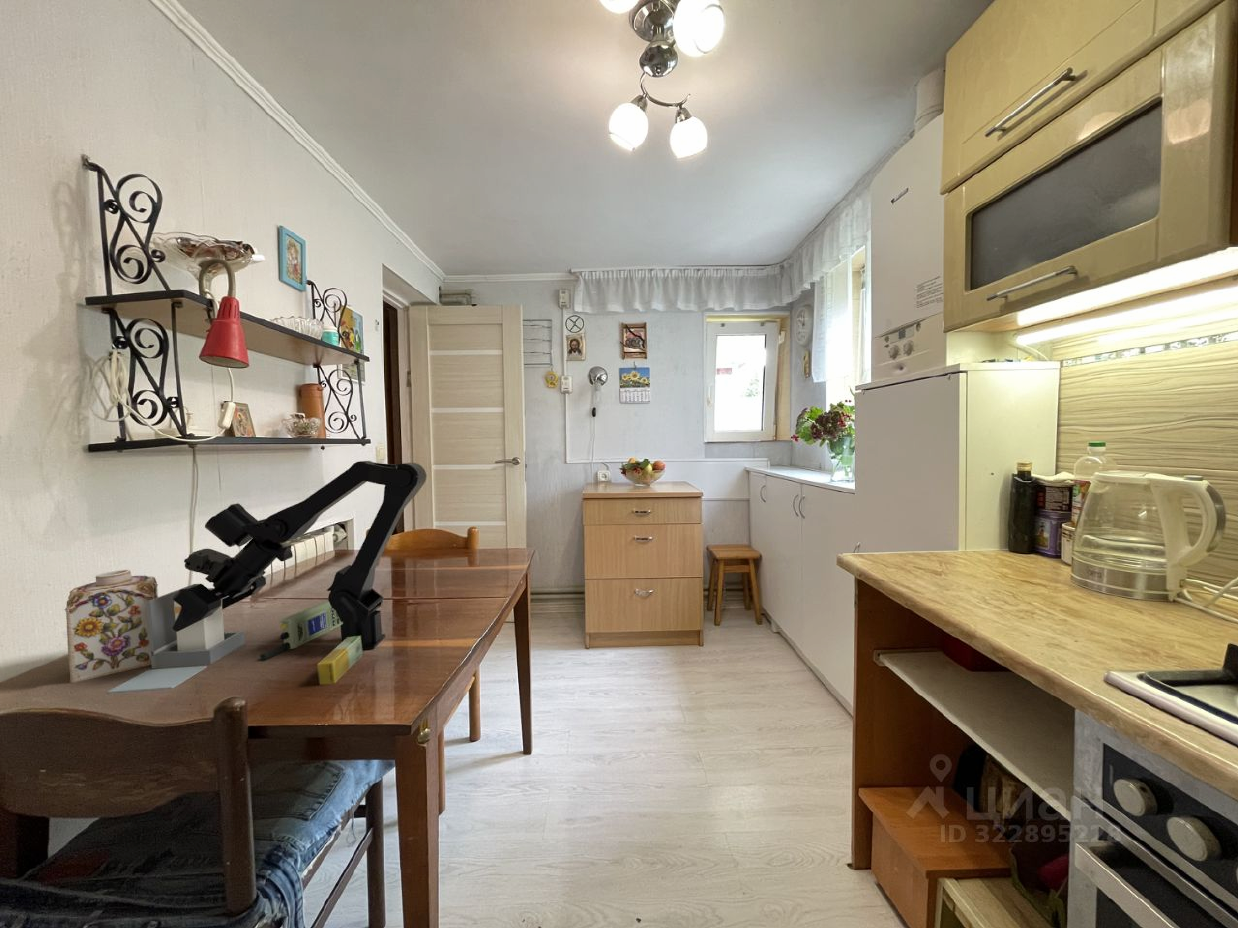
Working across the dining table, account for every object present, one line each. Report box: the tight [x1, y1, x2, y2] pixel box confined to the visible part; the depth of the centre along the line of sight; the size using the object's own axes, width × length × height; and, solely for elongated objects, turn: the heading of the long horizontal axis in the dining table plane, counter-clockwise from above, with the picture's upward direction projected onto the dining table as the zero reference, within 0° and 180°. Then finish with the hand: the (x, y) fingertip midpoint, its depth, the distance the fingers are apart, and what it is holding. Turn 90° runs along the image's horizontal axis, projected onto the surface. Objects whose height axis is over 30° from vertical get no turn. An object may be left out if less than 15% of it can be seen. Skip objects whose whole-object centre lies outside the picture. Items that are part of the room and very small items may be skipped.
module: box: [174, 587, 225, 651], centre depth 96 cm, size 5×5×12 cm
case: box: [147, 585, 246, 669], centre depth 96 cm, size 10×10×13 cm
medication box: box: [316, 635, 364, 686], centre depth 89 cm, size 12×3×4 cm, turn 6°
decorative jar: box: [64, 569, 159, 684], centre depth 93 cm, size 12×12×18 cm
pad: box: [106, 665, 208, 694], centre depth 86 cm, size 10×8×1 cm
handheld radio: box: [260, 599, 343, 662], centre depth 105 cm, size 7×3×25 cm
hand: (193, 621), depth 96 cm, fingers open, 9 cm apart
